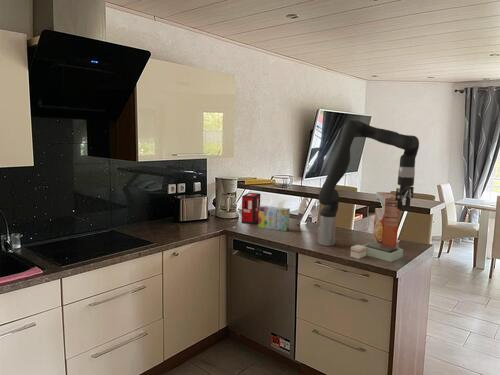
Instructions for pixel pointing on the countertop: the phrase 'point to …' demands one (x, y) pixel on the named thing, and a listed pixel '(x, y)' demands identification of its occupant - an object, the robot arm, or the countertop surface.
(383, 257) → the tote
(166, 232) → the countertop surface
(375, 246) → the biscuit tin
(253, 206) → the cleaning product box
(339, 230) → the countertop surface
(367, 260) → the countertop surface
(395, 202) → the orange tall flat container
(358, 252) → the cream carton
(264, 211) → the snack box
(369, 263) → the countertop surface
